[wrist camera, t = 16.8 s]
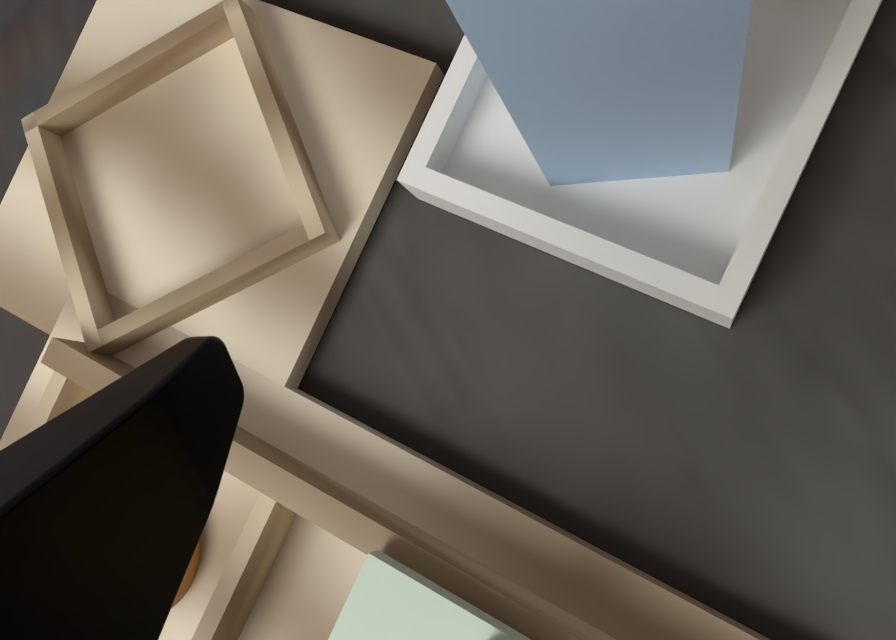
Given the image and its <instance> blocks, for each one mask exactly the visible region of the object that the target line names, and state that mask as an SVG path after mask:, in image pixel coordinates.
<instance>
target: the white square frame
mask: <svg viewBox="0 0 896 640" xmlns="http://www.w3.org/2000/svg"><path fill="white" fill-rule="evenodd" d="M882 1H883V0H752V1H751V8H750V16H749V23H748V31H747V39H746V46H745V54H744V62H743V69H742V77H741V84H740V92H739V100H738V107H737V115H736V122H735V130H734V138H733V145H732V153H731V161H730V168H729V172H718V173H706V174H693V175H681V176H668V177H656V178H643V179H631V180H619V181H606V182H594V183H581V184H569V185H556V186H550V185H549V183H548V181H547V179H546V178H545V176H544V174H543V172H542V170H541V169H540V167H539V165H538V163H537V162H536V160H535V158H534V156H533V155H532V153H531V151H530V149H529V147H528V146H527V144H526V142H525V140H524V139H523V137H522V135H521V133H520V131H519V130H518V128H517V126H516V124H515V123H514V121H513V119H512V117H511V115H510V114H509V112H508V110H507V108H506V107H505V105H504V103H503V101H502V100H501V98H500V96H499V94H498V92H497V91H496V89H495V87H494V85H493V84H492V82H491V80H490V78H489V76H488V75H487V73H486V71H485V69H484V68H483V66H482V64H481V62H480V61H479V59H478V57H477V55H476V53H475V52H474V50H473V48H472V46H471V45H470V43H469V41H468V39H467V37H466V36H465V35H464V37H463V39H462V41H461V44H460V46H459V48H458V50H457V52H456V54H455V56H454V59H453V61H452V63H451V65H450V67H449V69H448V71H447V73H446V76H445V78H444V80H443V82H442V84H441V86H440V88H439V91H438V93H437V95H436V97H435V99H434V101H433V103H432V105H431V108H430V110H429V112H428V114H427V116H426V118H425V120H424V122H423V125H422V127H421V129H420V131H419V133H418V135H417V137H416V140H415V142H414V144H413V146H412V148H411V150H410V152H409V154H408V157H407V159H406V161H405V163H404V165H403V167H402V169H401V172H400V174H399V176H398V178H397V181H398V182H400V183H401V184H402V185H403V186H404V187H405V188H406V189H408V190H409V191H410V192H411V193H412V194H413V195H414V196H415V197H417V198H418V199H420V200H422V201H425V202H427V203H429V204H432V205H434V206H437V207H439V208H441V209H444V210H446V211H449V212H451V213H453V214H456V215H458V216H461V217H463V218H465V219H468V220H470V221H473V222H475V223H477V224H480V225H482V226H485V227H487V228H489V229H492V230H494V231H496V232H499V233H501V234H504V235H506V236H508V237H511V238H513V239H516V240H518V241H520V242H523V243H525V244H528V245H530V246H532V247H535V248H537V249H540V250H542V251H544V252H547V253H549V254H552V255H554V256H556V257H559V258H561V259H563V260H566V261H568V262H571V263H573V264H575V265H578V266H580V267H583V268H585V269H587V270H590V271H592V272H595V273H597V274H599V275H602V276H604V277H607V278H609V279H611V280H614V281H616V282H619V283H621V284H623V285H626V286H628V287H630V288H633V289H635V290H638V291H640V292H642V293H645V294H647V295H650V296H652V297H654V298H657V299H659V300H662V301H664V302H666V303H669V304H671V305H674V306H676V307H678V308H681V309H683V310H686V311H688V312H690V313H693V314H695V315H697V316H700V317H702V318H705V319H707V320H709V321H712V322H714V323H717V324H719V325H721V326H724V327H726V328H729V329H730V327H731V325H732V323H733V321H734V319H735V317H736V314H737V312H738V310H739V308H740V306H741V304H742V301H743V299H744V297H745V295H746V293H747V291H748V289H749V286H750V284H751V282H752V280H753V278H754V276H755V274H756V271H757V269H758V267H759V265H760V263H761V261H762V259H763V256H764V254H765V252H766V250H767V248H768V246H769V244H770V241H771V239H772V237H773V235H774V233H775V231H776V228H777V226H778V224H779V222H780V220H781V218H782V216H783V213H784V211H785V209H786V207H787V205H788V203H789V201H790V198H791V196H792V194H793V192H794V190H795V188H796V186H797V183H798V181H799V179H800V177H801V175H802V173H803V171H804V168H805V166H806V164H807V162H808V160H809V158H810V155H811V153H812V151H813V149H814V147H815V145H816V143H817V140H818V138H819V136H820V134H821V132H822V130H823V128H824V125H825V123H826V121H827V119H828V117H829V115H830V113H831V110H832V108H833V106H834V104H835V102H836V100H837V98H838V95H839V93H840V91H841V89H842V87H843V85H844V82H845V80H846V78H847V76H848V74H849V72H850V70H851V67H852V65H853V63H854V61H855V59H856V57H857V55H858V52H859V50H860V48H861V46H862V44H863V42H864V40H865V37H866V35H867V33H868V31H869V29H870V27H871V25H872V22H873V20H874V18H875V16H876V14H877V12H878V9H879V7H880V5H881V3H882Z"/></svg>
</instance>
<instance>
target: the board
mask: <svg viewBox="0 0 896 640" xmlns="http://www.w3.org/2000/svg"><path fill="white" fill-rule="evenodd" d="M443 77H444V74H443V72H442V71H441V69H440V68H439V66H438V65H437V63H435V62H432V61H429V60H426V59H423V58H421V57H418V56H415V55H412V54H409V53H406V52H404V51H401V50H398V49H395V48H392V47H390V46H387V45H384V44H381V43H378V42H375V41H373V40H370V39H367V38H364V37H361V36H359V35H356V34H353V33H350V32H347V31H344V30H342V29H339V28H336V27H333V26H330V25H328V24H325V23H322V22H319V21H316V20H313V19H311V18H308V17H305V16H302V15H299V14H297V13H294V12H291V11H288V10H285V9H282V8H280V7H277V6H274V5H271V4H268V3H265V2H263V1H260V0H97V1H96V4H95V6H94V8H93V10H92V12H91V14H90V16H89V18H88V20H87V23H86V25H85V27H84V29H83V31H82V33H81V35H80V37H79V40H78V42H77V44H76V46H75V48H74V50H73V52H72V54H71V56H70V59H69V61H68V63H67V65H66V67H65V69H64V71H63V73H62V76H61V78H60V80H59V82H58V84H57V86H56V88H55V90H54V92H53V95H52V97H51V99H50V101H49V103H48V104H47V105H45V106H43V107H41V108H40V109H38V110H36V111H35V112H33V113H31V114H30V115H28V116H26V117H25V118H23V119H21V122H22V125H23V129H24V132H25V136H26V139H27V143H28V148H27V150H26V152H25V154H24V156H23V158H22V160H21V162H20V165H19V167H18V169H17V171H16V173H15V175H14V177H13V179H12V181H11V184H10V186H9V188H8V190H7V192H6V194H5V196H4V198H3V201H2V203H1V205H0V307H2V308H4V309H6V310H7V311H9V312H11V313H13V314H14V315H16V316H18V317H20V318H21V319H23V320H25V321H27V322H28V323H30V324H32V325H34V326H35V327H37V328H39V329H40V330H42V331H44V332H46V333H47V334H49V335H50V337H49V339H48V341H47V343H46V345H45V347H44V349H43V352H42V354H41V356H40V358H39V360H38V362H37V364H36V366H35V369H34V371H33V373H32V375H31V377H30V379H29V381H28V383H27V386H26V388H25V390H24V392H23V394H22V396H21V398H20V400H19V403H18V405H17V407H16V409H15V411H14V413H13V415H12V417H11V420H10V422H9V424H8V426H7V428H6V430H5V432H4V434H3V437H2V439H1V441H0V450H2V449H4V448H5V447H7V446H9V445H10V444H12V443H14V442H15V441H17V440H19V439H20V438H22V437H24V436H25V435H27V434H28V433H30V432H32V431H33V430H35V429H37V428H38V427H40V426H42V425H43V424H45V423H47V422H48V421H50V420H51V419H53V418H55V417H56V416H58V415H60V414H61V413H63V412H65V411H66V410H68V409H70V408H71V407H73V406H75V405H76V404H78V403H79V402H81V401H83V400H84V399H86V398H88V397H89V396H91V395H93V394H94V393H96V392H98V391H99V390H101V389H103V388H104V387H106V386H107V385H109V384H111V383H112V382H114V381H116V380H117V379H119V378H121V377H122V376H124V375H126V374H127V373H129V372H131V371H132V370H134V369H135V368H137V367H139V366H140V365H142V364H144V363H145V362H147V361H149V360H150V359H152V358H154V357H155V356H157V355H159V354H160V353H162V352H163V351H165V350H167V349H168V348H170V347H172V346H173V345H175V344H177V343H178V342H180V341H182V340H183V339H185V338H188V337H194V336H216V337H218V338H220V339H221V340H222V341H223V342H224V344H225V345H226V347H227V350H228V352H229V354H230V357H231V359H232V361H233V363H234V366H235V368H236V370H237V372H238V375H239V377H240V379H241V381H242V384H243V388H244V403H243V407H242V411H241V414H240V418H239V421H238V424H237V428H236V431H235V435H234V438H233V441H232V445H231V448H230V452H229V455H228V459H227V462H226V465H225V469H224V472H223V476H222V479H221V483H220V486H219V489H218V492H217V495H216V498H215V501H214V504H213V507H212V510H211V512H210V515H209V518H208V520H207V523H206V525H205V528H204V530H203V533H202V535H201V537H200V540H199V542H198V545H197V547H196V550H195V552H194V554H193V557H192V559H191V562H190V564H189V567H188V569H187V571H186V574H185V576H184V579H183V581H182V584H181V586H180V588H179V591H178V593H177V596H176V598H175V600H174V603H173V605H172V608H171V610H170V613H169V615H168V617H167V620H166V622H165V625H164V627H163V630H162V632H161V634H160V637H159V639H158V640H328V639H329V636H330V634H331V632H332V630H333V628H334V626H335V624H336V622H337V619H338V617H339V615H340V613H341V611H342V609H343V607H344V604H345V602H346V600H347V598H348V596H349V594H350V592H351V589H352V587H353V585H354V583H355V581H356V579H357V577H358V574H359V572H360V570H361V568H362V566H363V564H364V562H365V560H366V557H367V555H368V553H370V552H373V551H376V550H379V551H381V552H382V553H384V554H386V555H388V556H389V557H391V558H393V559H394V560H396V561H398V562H400V563H401V564H403V565H405V566H406V567H408V568H410V569H412V570H413V571H415V572H417V573H418V574H420V575H422V576H423V577H425V578H427V579H429V580H430V581H432V582H434V583H435V584H437V585H439V586H441V587H442V588H444V589H446V590H447V591H449V592H451V593H453V594H454V595H456V596H458V597H459V598H461V599H463V600H465V601H466V602H468V603H470V604H471V605H473V606H475V607H477V608H478V609H480V610H482V611H483V612H485V613H487V614H489V615H490V616H492V617H494V618H495V619H497V620H499V621H500V622H502V623H504V624H506V625H507V626H509V627H511V628H512V629H514V630H516V631H518V632H519V633H521V634H523V635H524V636H526V637H528V638H530V639H531V640H771V639H769V638H767V637H765V636H763V635H761V634H759V633H757V632H756V631H754V630H752V629H750V628H748V627H746V626H744V625H742V624H740V623H739V622H737V621H735V620H733V619H731V618H729V617H727V616H725V615H724V614H722V613H720V612H718V611H716V610H714V609H712V608H710V607H708V606H707V605H705V604H703V603H701V602H699V601H697V600H695V599H693V598H691V597H690V596H688V595H686V594H684V593H682V592H680V591H678V590H676V589H675V588H673V587H671V586H669V585H667V584H665V583H663V582H661V581H659V580H658V579H656V578H654V577H652V576H650V575H648V574H646V573H644V572H642V571H641V570H639V569H637V568H635V567H633V566H631V565H629V564H627V563H626V562H624V561H622V560H620V559H618V558H616V557H614V556H612V555H610V554H609V553H607V552H605V551H603V550H601V549H599V548H597V547H595V546H593V545H592V544H590V543H588V542H586V541H584V540H582V539H580V538H578V537H577V536H575V535H573V534H571V533H569V532H567V531H565V530H563V529H561V528H560V527H558V526H556V525H554V524H552V523H550V522H548V521H546V520H545V519H543V518H541V517H539V516H537V515H535V514H533V513H531V512H529V511H528V510H526V509H524V508H522V507H520V506H518V505H516V504H514V503H512V502H511V501H509V500H507V499H505V498H503V497H501V496H499V495H497V494H496V493H494V492H492V491H490V490H488V489H486V488H484V487H482V486H480V485H479V484H477V483H475V482H473V481H471V480H469V479H467V478H465V477H463V476H462V475H460V474H458V473H456V472H454V471H452V470H450V469H448V468H447V467H445V466H443V465H441V464H439V463H437V462H435V461H433V460H431V459H430V458H428V457H426V456H424V455H422V454H420V453H418V452H416V451H414V450H413V449H411V448H409V447H407V446H405V445H403V444H401V443H399V442H398V441H396V440H394V439H392V438H390V437H388V436H386V435H384V434H382V433H381V432H379V431H377V430H375V429H373V428H371V427H369V426H367V425H365V424H364V423H362V422H360V421H358V420H356V419H354V418H352V417H350V416H349V415H347V414H345V413H343V412H341V411H339V410H337V409H335V408H333V407H332V406H330V405H328V404H326V403H324V402H322V401H320V400H318V399H316V398H315V397H313V396H311V395H309V394H307V393H305V392H303V391H301V390H300V389H298V386H299V384H300V382H301V380H302V378H303V375H304V373H305V371H306V369H307V367H308V365H309V363H310V360H311V358H312V356H313V354H314V352H315V350H316V348H317V346H318V343H319V341H320V339H321V337H322V335H323V333H324V331H325V329H326V326H327V324H328V322H329V320H330V318H331V316H332V314H333V311H334V309H335V307H336V305H337V303H338V301H339V299H340V297H341V294H342V292H343V290H344V288H345V286H346V284H347V282H348V279H349V277H350V275H351V273H352V271H353V269H354V267H355V265H356V262H357V260H358V258H359V256H360V254H361V252H362V250H363V247H364V245H365V243H366V241H367V239H368V237H369V235H370V233H371V230H372V228H373V226H374V224H375V222H376V220H377V218H378V215H379V213H380V211H381V209H382V207H383V205H384V203H385V201H386V198H387V196H388V194H389V192H390V190H391V188H392V186H393V184H394V181H395V179H396V177H397V175H398V173H399V171H400V169H401V166H402V164H403V162H404V160H405V158H406V156H407V154H408V152H409V149H410V147H411V145H412V143H413V141H414V139H415V137H416V134H417V132H418V130H419V128H420V126H421V124H422V122H423V120H424V117H425V115H426V113H427V111H428V109H429V107H430V105H431V102H432V100H433V98H434V96H435V94H436V92H437V90H438V88H439V85H440V83H441V81H442V79H443Z"/></svg>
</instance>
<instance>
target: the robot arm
mask: <svg viewBox="0 0 896 640" xmlns="http://www.w3.org/2000/svg"><path fill="white" fill-rule="evenodd" d="M243 403H244V388H243V384H242V381H241V379H240V377H239V375H238V372H237V370H236V368H235V366H234V363H233V361H232V359H231V357H230V354H229V352H228V350H227V347H226V345H225V344H224V342H223V341H222V340H221V339H220V338H218V337H216V336H194V337H188V338H185V339H183V340H182V341H180V342H178V343H177V344H175V345H173V346H172V347H170V348H168V349H167V350H165V351H163V352H162V353H160V354H159V355H157V356H155V357H154V358H152V359H150V360H149V361H147V362H145V363H144V364H142V365H140V366H139V367H137V368H135V369H134V370H132V371H131V372H129V373H127V374H126V375H124V376H122V377H121V378H119V379H117V380H116V381H114V382H112V383H111V384H109V385H107V386H106V387H104V388H103V389H101V390H99V391H98V392H96V393H94V394H93V395H91V396H89V397H88V398H86V399H84V400H83V401H81V402H79V403H78V404H76V405H75V406H73V407H71V408H70V409H68V410H66V411H65V412H63V413H61V414H60V415H58V416H56V417H55V418H53V419H51V420H50V421H48V422H47V423H45V424H43V425H42V426H40V427H38V428H37V429H35V430H33V431H32V432H30V433H28V434H27V435H25V436H24V437H22V438H20V439H19V440H17V441H15V442H14V443H12V444H10V445H9V446H7V447H5V448H4V449H2V450H0V640H158V639H159V637H160V634H161V632H162V630H163V627H164V625H165V622H166V620H167V617H168V615H169V613H170V610H171V608H172V605H173V603H174V600H175V598H176V596H177V593H178V591H179V588H180V586H181V584H182V581H183V579H184V576H185V574H186V571H187V569H188V567H189V564H190V562H191V559H192V557H193V554H194V552H195V550H196V547H197V545H198V542H199V540H200V537H201V535H202V533H203V530H204V528H205V525H206V523H207V520H208V518H209V515H210V512H211V510H212V507H213V504H214V501H215V498H216V495H217V492H218V489H219V486H220V483H221V479H222V476H223V472H224V469H225V465H226V462H227V459H228V455H229V452H230V448H231V445H232V441H233V438H234V435H235V431H236V428H237V424H238V421H239V418H240V414H241V411H242V407H243Z"/></svg>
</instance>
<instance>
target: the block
mask: <svg viewBox="0 0 896 640" xmlns="http://www.w3.org/2000/svg"><path fill="white" fill-rule="evenodd" d="M751 1H752V0H446V2H447V4H448V6H449V7H450V9H451V11H452V13H453V14H454V16H455V18H456V20H457V21H458V23H459V25H460V27H461V29H462V30H463V32H464V34H465V36H466V37H467V39H468V41H469V43H470V45H471V46H472V48H473V50H474V52H475V53H476V55H477V57H478V59H479V61H480V62H481V64H482V66H483V68H484V69H485V71H486V73H487V75H488V76H489V78H490V80H491V82H492V84H493V85H494V87H495V89H496V91H497V92H498V94H499V96H500V98H501V100H502V101H503V103H504V105H505V107H506V108H507V110H508V112H509V114H510V115H511V117H512V119H513V121H514V123H515V124H516V126H517V128H518V130H519V131H520V133H521V135H522V137H523V139H524V140H525V142H526V144H527V146H528V147H529V149H530V151H531V153H532V155H533V156H534V158H535V160H536V162H537V163H538V165H539V167H540V169H541V170H542V172H543V174H544V176H545V178H546V179H547V181H548V183H549V185H550V186H556V185H569V184H581V183H594V182H606V181H619V180H631V179H643V178H656V177H668V176H681V175H693V174H706V173H718V172H729V168H730V161H731V153H732V145H733V138H734V130H735V122H736V115H737V107H738V100H739V92H740V84H741V77H742V69H743V62H744V54H745V46H746V39H747V31H748V23H749V16H750V8H751Z"/></svg>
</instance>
